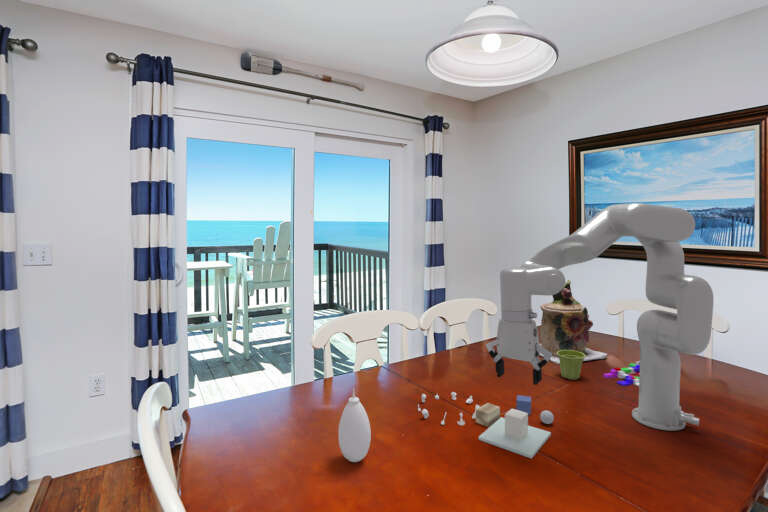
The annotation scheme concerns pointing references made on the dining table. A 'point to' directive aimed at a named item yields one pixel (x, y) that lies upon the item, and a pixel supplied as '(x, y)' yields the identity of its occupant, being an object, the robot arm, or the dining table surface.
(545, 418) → the grey ball
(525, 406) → the blue cube
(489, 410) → the sand wood block
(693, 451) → the dining table surface
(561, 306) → the cookie jar
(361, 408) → the white air blower bulb
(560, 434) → the dining table surface
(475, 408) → the game piece set
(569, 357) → the plant pot
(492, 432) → the seafoam tile
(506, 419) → the cream block
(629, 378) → the building block set
